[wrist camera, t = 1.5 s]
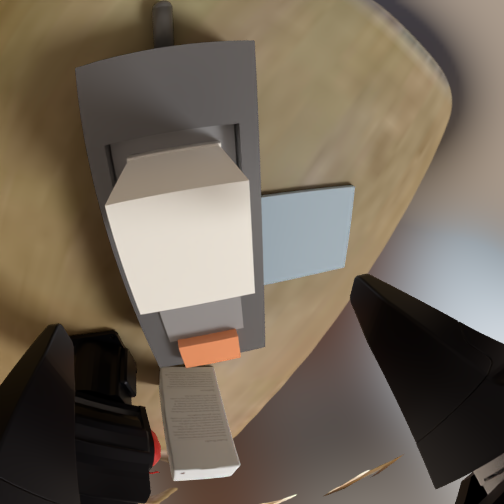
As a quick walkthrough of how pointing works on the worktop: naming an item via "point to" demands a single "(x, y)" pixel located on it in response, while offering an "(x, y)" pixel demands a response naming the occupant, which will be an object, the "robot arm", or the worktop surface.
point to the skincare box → (195, 424)
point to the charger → (183, 227)
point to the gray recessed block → (172, 135)
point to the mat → (305, 231)
